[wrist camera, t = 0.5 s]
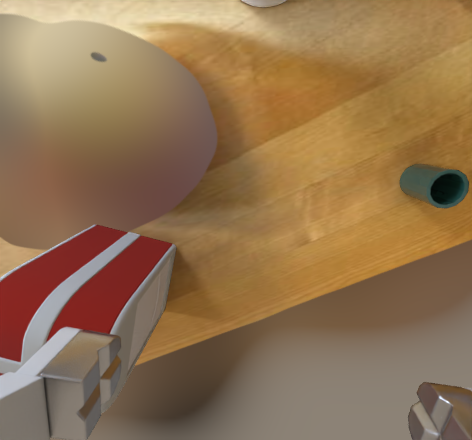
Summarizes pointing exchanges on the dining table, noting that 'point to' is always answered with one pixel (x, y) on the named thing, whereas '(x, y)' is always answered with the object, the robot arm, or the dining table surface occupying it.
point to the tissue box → (86, 295)
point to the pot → (434, 185)
